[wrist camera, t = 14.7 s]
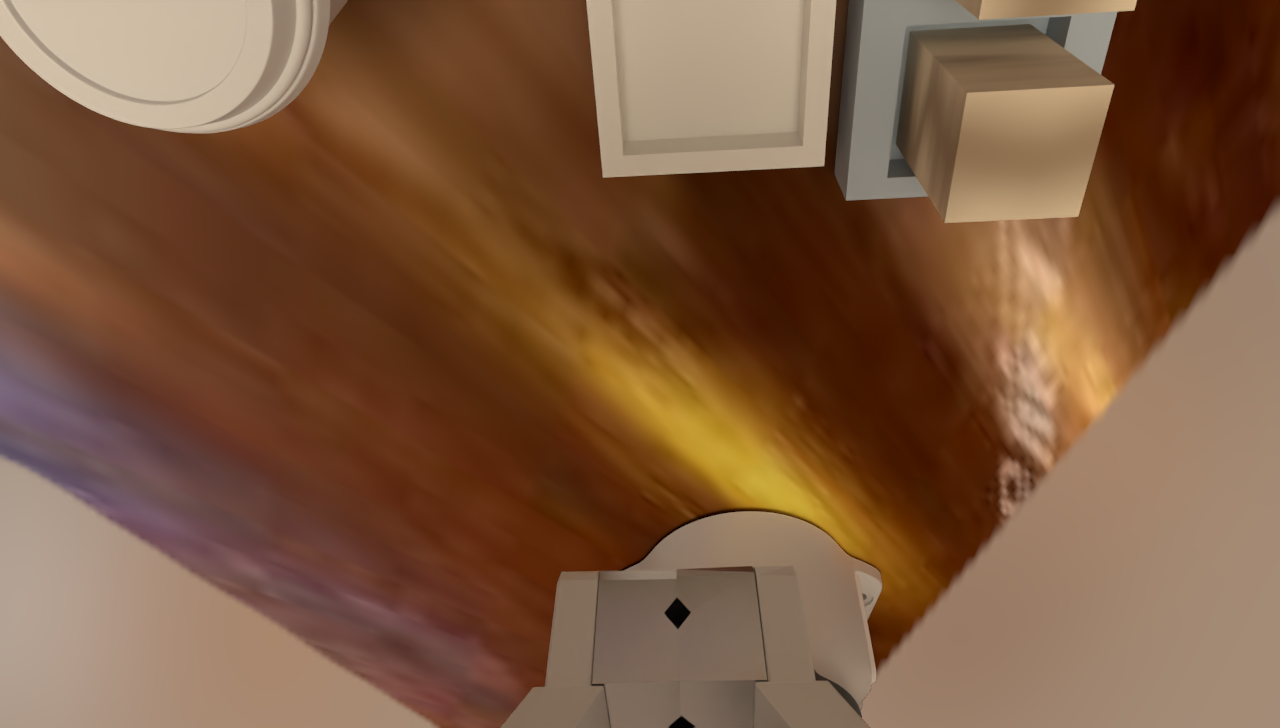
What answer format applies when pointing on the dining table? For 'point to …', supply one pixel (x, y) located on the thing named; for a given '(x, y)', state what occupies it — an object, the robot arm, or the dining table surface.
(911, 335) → the dining table surface
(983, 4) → the block
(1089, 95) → the seated block
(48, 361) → the dining table surface
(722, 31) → the tray
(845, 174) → the grey hollow frame
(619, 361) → the dining table surface
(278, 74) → the coffee cup
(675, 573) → the robot arm
